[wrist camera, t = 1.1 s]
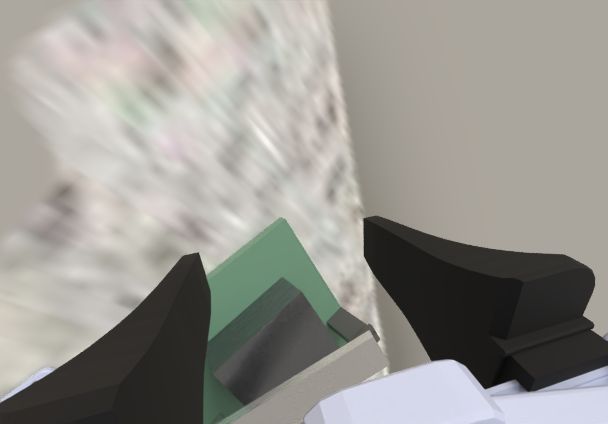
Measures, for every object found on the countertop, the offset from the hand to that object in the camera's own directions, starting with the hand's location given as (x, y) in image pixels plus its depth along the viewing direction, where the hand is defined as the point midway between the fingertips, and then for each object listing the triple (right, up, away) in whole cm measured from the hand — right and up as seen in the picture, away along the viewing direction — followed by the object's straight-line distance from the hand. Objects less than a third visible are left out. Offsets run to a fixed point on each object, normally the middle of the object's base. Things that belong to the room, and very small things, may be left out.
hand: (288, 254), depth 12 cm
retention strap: (0, -11, +7) cm, 13 cm away
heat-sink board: (-3, -9, +13) cm, 16 cm away
